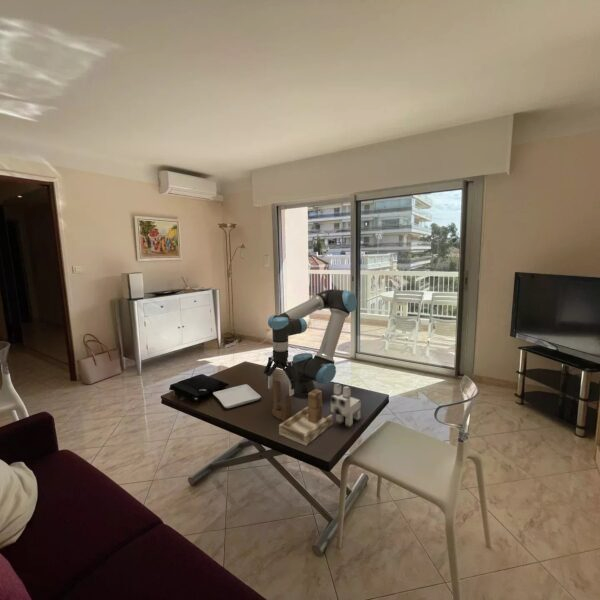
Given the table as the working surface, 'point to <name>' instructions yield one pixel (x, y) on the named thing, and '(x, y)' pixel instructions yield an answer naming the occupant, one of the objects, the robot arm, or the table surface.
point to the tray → (304, 427)
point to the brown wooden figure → (281, 403)
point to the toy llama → (345, 405)
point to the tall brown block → (315, 406)
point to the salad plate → (237, 396)
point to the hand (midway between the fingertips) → (280, 391)
